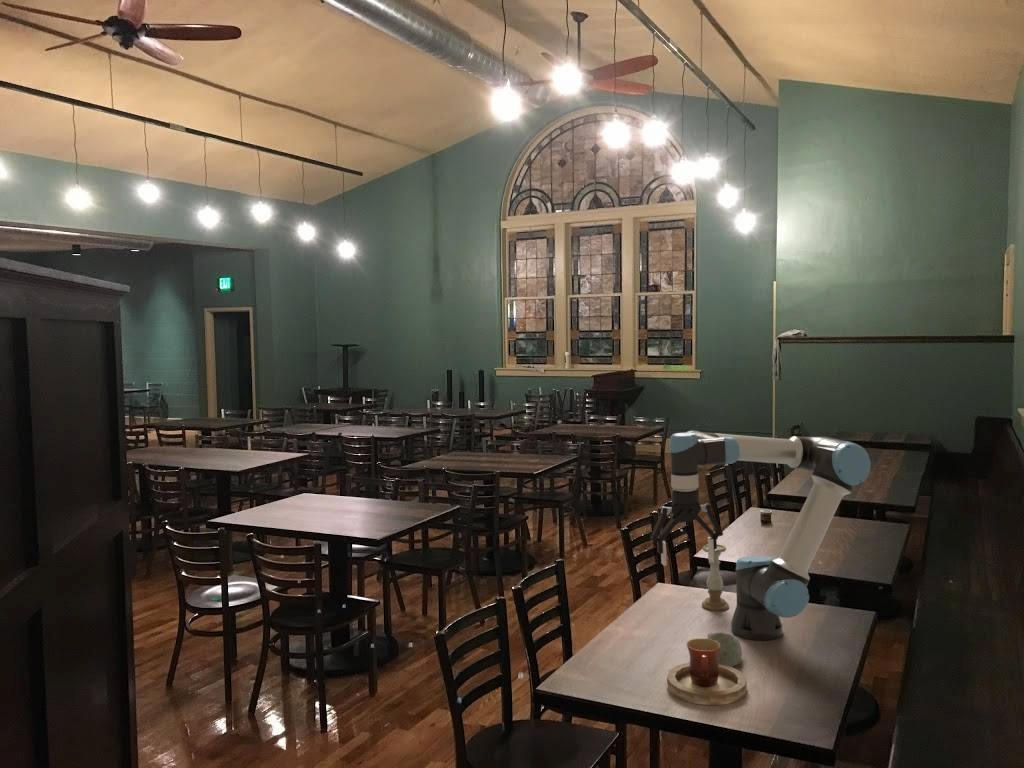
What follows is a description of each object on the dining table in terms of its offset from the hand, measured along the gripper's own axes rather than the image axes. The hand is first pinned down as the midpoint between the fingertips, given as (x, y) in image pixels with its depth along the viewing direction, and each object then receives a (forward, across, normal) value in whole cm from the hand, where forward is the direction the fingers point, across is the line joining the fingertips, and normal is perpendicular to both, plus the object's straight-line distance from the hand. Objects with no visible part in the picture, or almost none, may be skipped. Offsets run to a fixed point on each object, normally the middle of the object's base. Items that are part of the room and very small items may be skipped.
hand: (687, 562), depth 236 cm
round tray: (+28, +2, +19) cm, 34 cm away
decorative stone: (+28, -9, +3) cm, 30 cm away
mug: (+27, +2, +18) cm, 33 cm away
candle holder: (+29, -21, -40) cm, 53 cm away
